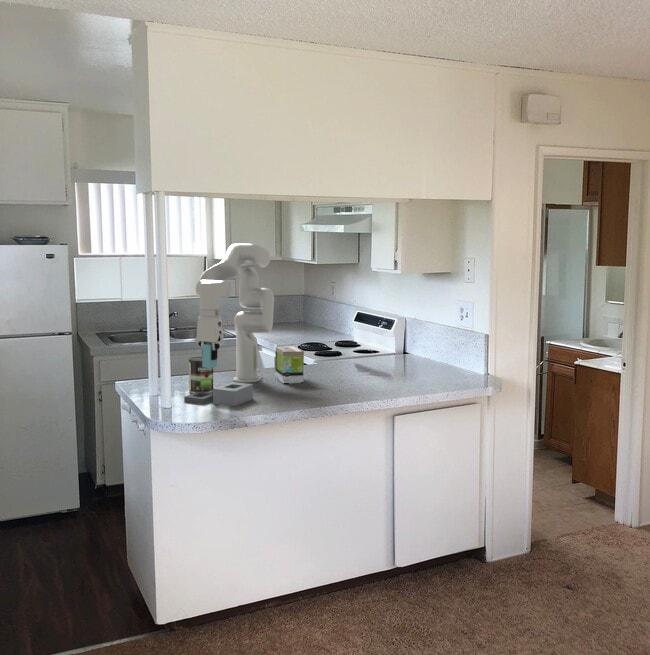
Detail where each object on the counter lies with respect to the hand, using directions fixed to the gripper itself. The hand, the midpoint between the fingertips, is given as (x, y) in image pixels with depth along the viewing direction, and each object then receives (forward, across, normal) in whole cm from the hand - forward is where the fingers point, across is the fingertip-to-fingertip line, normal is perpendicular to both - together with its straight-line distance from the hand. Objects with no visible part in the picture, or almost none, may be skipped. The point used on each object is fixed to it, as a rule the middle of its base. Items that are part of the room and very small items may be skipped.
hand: (209, 358), depth 282 cm
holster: (+17, +3, +2) cm, 17 cm away
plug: (+3, 0, 0) cm, 3 cm away
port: (+17, -8, -4) cm, 19 cm away
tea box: (+18, -9, -50) cm, 54 cm away
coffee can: (+17, +13, -12) cm, 25 cm away
